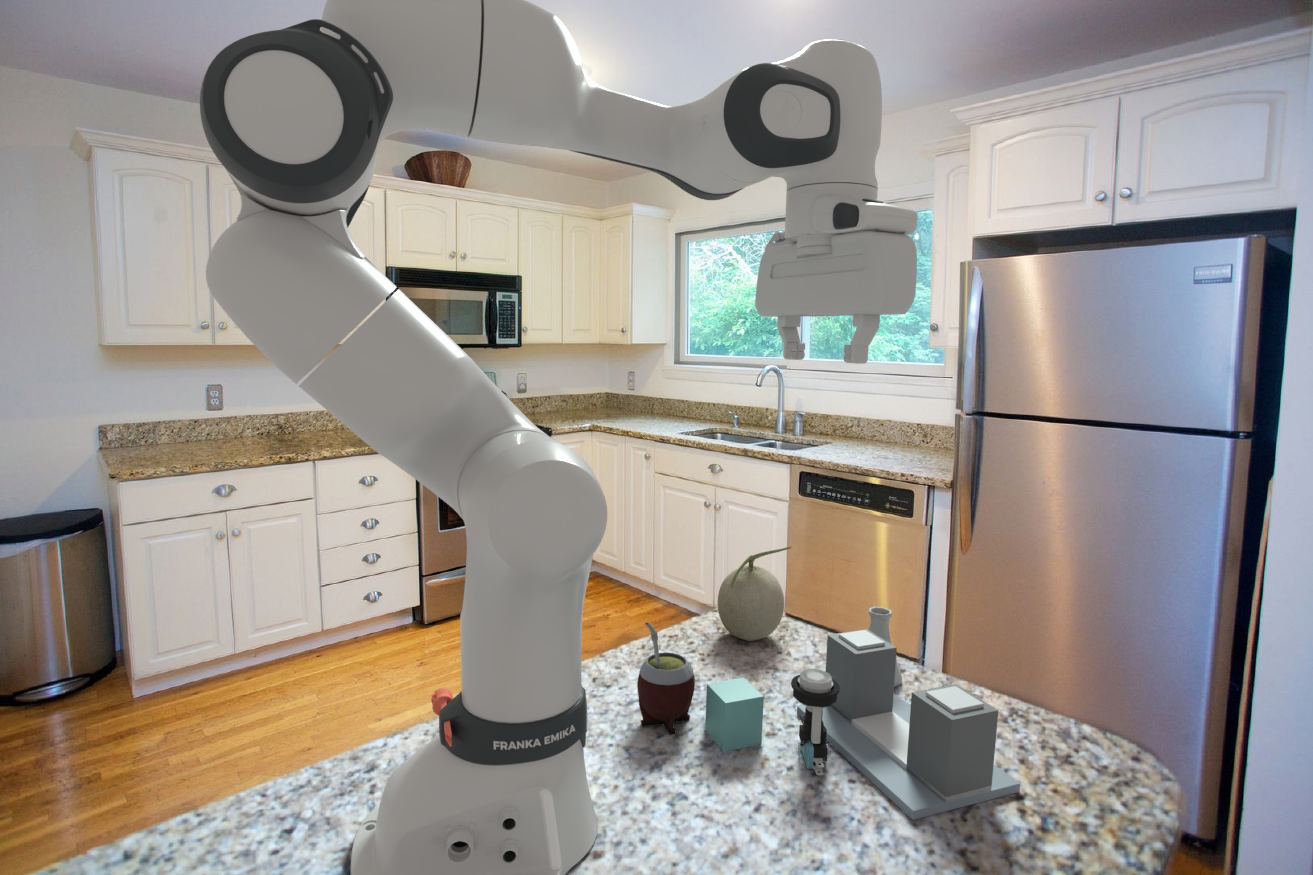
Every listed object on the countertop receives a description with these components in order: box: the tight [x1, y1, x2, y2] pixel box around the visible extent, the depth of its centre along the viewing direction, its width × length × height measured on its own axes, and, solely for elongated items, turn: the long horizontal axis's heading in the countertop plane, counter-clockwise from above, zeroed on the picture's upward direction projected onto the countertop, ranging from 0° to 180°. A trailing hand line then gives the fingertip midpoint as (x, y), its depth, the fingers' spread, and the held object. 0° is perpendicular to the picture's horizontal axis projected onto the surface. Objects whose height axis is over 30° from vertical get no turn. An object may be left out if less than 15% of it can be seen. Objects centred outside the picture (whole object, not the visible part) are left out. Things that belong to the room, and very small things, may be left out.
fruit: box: [717, 546, 792, 642], centre depth 115 cm, size 10×12×15 cm
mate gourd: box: [636, 621, 696, 736], centre depth 89 cm, size 8×8×15 cm
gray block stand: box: [796, 628, 1021, 821], centre depth 85 cm, size 14×22×10 cm, turn 20°
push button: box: [790, 668, 840, 776], centre depth 82 cm, size 7×5×10 cm
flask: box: [868, 606, 903, 688], centre depth 103 cm, size 7×7×10 cm
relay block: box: [704, 677, 765, 752], centre depth 87 cm, size 5×5×6 cm
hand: (822, 361), depth 75 cm, fingers open, 8 cm apart
